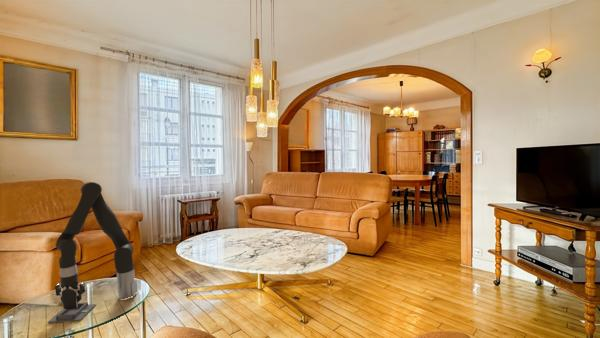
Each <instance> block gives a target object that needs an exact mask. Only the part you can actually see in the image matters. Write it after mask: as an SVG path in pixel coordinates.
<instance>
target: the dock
mask: <svg viewBox="0 0 600 338" xmlns="http://www.w3.org/2000/svg"><path fill="white" fill-rule="evenodd" d="M78 304H79V306H78V307H77V308H74V309H64V307H63V308H62V309H61V310H59V311H58V312H57V313H56V314H55V315H54V316H52V317H51V318H50V319H49V320H48V321H47V324H48V323H49V324H59V323H75V322H81V321H82V320H83V319H84V318H85V317H86V316H87V315H88V314H89V313H90V312H91V311H93V309H94V308H95V307H96V306H97V304H96V303H94V304H93V303H91V304H89V302H86V301H85V302H78Z"/></svg>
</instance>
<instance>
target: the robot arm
mask: <svg viewBox="0 0 600 338" xmlns="http://www.w3.org/2000/svg"><path fill="white" fill-rule="evenodd" d="M102 191H103V189H102V186H101V184H100V183H98V182H95V181H88V182H86V183H84V184H83V185H81V188H80V193H81V197H80V199H79V202H78V204H77V205H76V207H75V210H74V211H73V213H72V214H71V216H70V218H69V219H68V222H67V223H66V225H65V228H64V230H63V231H62V232H61V234H60V235H59V236H58V238H57V240H56V243H55V248H56V250H58V251H59V252H60V257H59V259H58V265H59V280H60V283H57V284H56V285H55V286H54V291H55V295H56V296H57V297H58V296H59V297H60V302H61V303H62V304H63V300H62V291H63V290H66V289H71V290H74V291H75V292H76V295H77V302H78V303H80V301H81V300H82V299H83V298H82V295H83V294H84V293H85V292H86V285H85V284H86V283H85V282H79V274H78V266H77V260H76V255H77V242H76V241H75V240H74V238H75V237H76V236H77V235H79V234H80V233H81V231H82V229H83V227H84V226H85V225H84V224H85V222H86V220H87V217H88V215H89V213H90V210H91V209H92V212H93V215H94V217H95V219H96V222H97V223H98V224H97V225H99V227H100V229H101V230H102V232H103V233H104V234H105V235H107V237H109V238H110V240H111V242H112V243H113V245H114V248H115V251H114V253H113V258H114V268H115V269H116V281H117V294H118V299H119V300H120V299H125V298H128V297H131V296H134V294H135V293H136V292H137V293H138V283H137V278H135V275H136V274H135V263H134V262H133V260H134V259H133V253H134V247H133V245H132V243H131V242H130V241H129V239H128V237H127V236H126V234H125V232H124V230H123V227H122V225H121V224H120V222H119V220H118V218H117V217H116V214H115V213H114V211H113V210H112V209H111V207H110V206H109V205H108V204H107V202H106V200H105V199H104V197H103V194H102ZM76 288H78V289H77V290H75V289H76ZM77 291H78V292H77Z"/></svg>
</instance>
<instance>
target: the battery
mask: <svg viewBox="0 0 600 338" xmlns="http://www.w3.org/2000/svg"><path fill="white" fill-rule="evenodd" d="M77 289H78V288H76V289H75V290H77ZM62 290H63V289H62ZM62 290H61V292H62V300H63V303H62V304H63V305H62V306H63V308H64V309H74V308H77V307H78V306H79V304H78V303H79V302H77V295H76V292H75V291H74V290H71V289H66V290H63V291H62ZM77 292H78V291H77Z"/></svg>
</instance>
